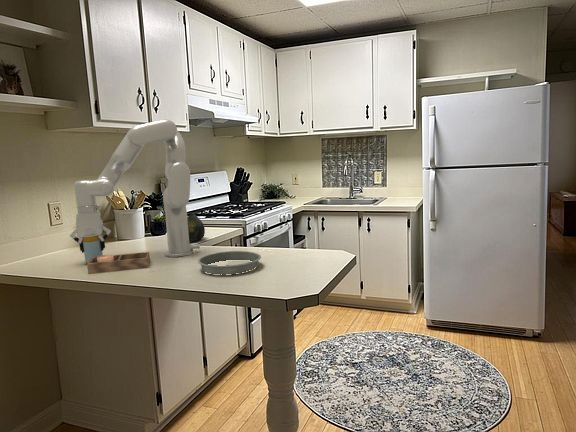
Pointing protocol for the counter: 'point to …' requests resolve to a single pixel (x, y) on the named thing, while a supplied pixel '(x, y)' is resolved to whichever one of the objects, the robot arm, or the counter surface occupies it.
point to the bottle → (91, 245)
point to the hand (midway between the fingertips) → (93, 250)
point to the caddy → (120, 263)
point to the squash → (195, 228)
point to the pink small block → (105, 258)
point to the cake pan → (229, 256)
